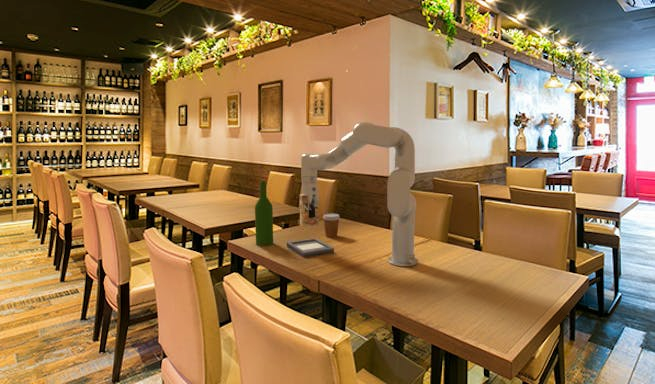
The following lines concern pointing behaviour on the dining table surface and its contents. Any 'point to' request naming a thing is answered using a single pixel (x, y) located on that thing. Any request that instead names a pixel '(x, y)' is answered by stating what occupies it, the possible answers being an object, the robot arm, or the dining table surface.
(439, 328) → the dining table surface
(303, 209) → the candy box
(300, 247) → the gray tray
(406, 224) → the robot arm
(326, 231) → the disposable coffee cup
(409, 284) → the dining table surface
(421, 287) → the dining table surface
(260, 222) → the wine bottle
